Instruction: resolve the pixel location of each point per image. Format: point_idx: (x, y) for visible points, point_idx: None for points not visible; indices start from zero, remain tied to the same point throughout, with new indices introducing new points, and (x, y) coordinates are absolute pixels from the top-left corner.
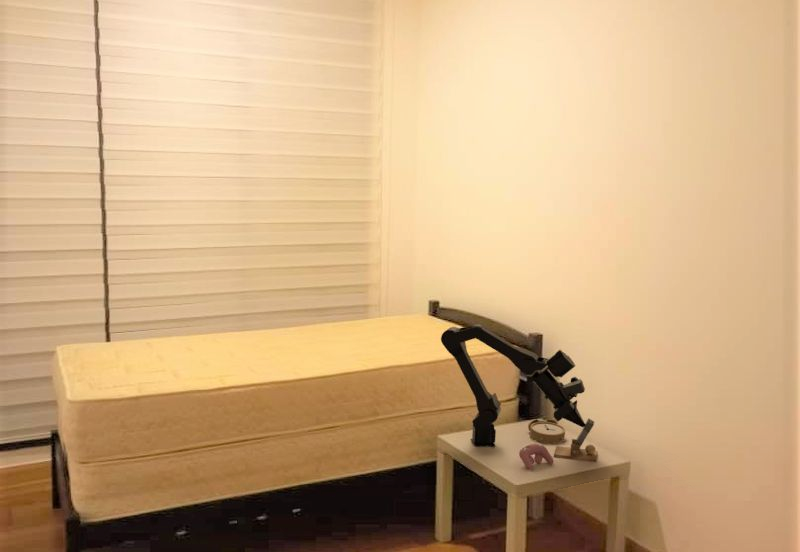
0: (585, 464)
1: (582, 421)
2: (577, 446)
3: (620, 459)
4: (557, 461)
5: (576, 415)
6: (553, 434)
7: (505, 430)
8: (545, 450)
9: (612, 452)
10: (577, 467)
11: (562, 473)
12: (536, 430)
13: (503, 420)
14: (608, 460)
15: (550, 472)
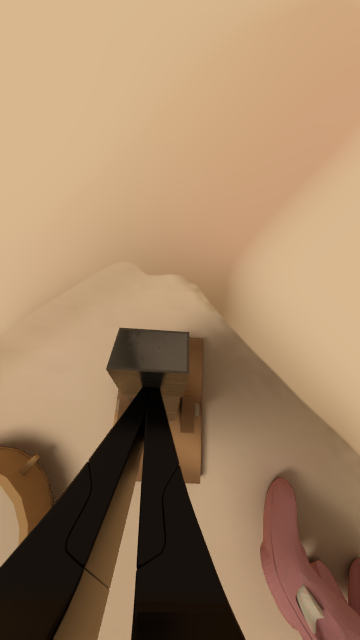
0: (230, 369)
1: (165, 414)
2: (194, 404)
3: (159, 279)
4: (238, 460)
5: (186, 515)
6: (19, 520)
7: None
8: (302, 555)
9: (109, 295)
10: (263, 392)
11: (331, 438)
12: None
13: None
14: (176, 308)
15: (343, 479)
